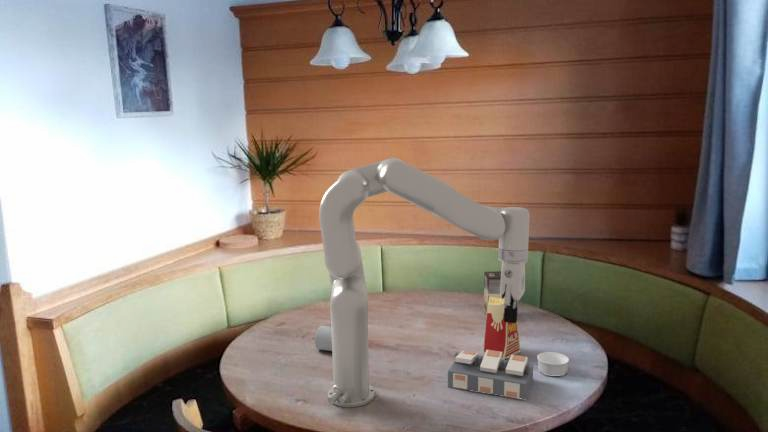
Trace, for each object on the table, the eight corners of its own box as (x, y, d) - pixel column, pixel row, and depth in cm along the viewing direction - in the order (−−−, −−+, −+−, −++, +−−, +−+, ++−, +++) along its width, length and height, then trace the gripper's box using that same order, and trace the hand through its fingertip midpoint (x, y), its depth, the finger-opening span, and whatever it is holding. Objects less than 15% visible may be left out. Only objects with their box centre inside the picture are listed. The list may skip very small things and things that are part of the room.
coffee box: (483, 312, 218) (483, 271, 215) (499, 311, 218) (500, 270, 215) (487, 320, 209) (487, 278, 206) (504, 320, 209) (505, 277, 206)
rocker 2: (522, 375, 152) (522, 371, 152) (505, 373, 154) (505, 368, 154) (527, 361, 159) (527, 356, 159) (511, 358, 161) (511, 354, 161)
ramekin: (533, 365, 172) (534, 351, 171) (563, 365, 172) (564, 351, 171) (540, 378, 163) (541, 364, 162) (572, 378, 163) (573, 364, 162)
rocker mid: (496, 373, 155) (496, 369, 155) (480, 370, 157) (479, 366, 157) (502, 355, 162) (502, 351, 162) (486, 353, 164) (486, 348, 163)
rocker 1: (470, 364, 158) (471, 359, 157) (454, 361, 159) (455, 356, 159) (477, 357, 165) (477, 352, 165) (462, 354, 167) (462, 350, 167)
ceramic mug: (338, 356, 180) (337, 332, 179) (314, 352, 183) (314, 329, 182) (351, 344, 190) (350, 321, 189) (328, 341, 193) (328, 319, 191)
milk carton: (520, 351, 181) (522, 290, 178) (504, 361, 175) (506, 298, 171) (495, 344, 188) (496, 285, 184) (479, 353, 181) (480, 292, 178)
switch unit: (524, 401, 150) (525, 375, 149) (447, 387, 158) (447, 363, 157) (532, 379, 162) (533, 355, 161) (460, 367, 170) (460, 345, 169)
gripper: (522, 262, 142) (519, 333, 145) (532, 249, 155) (529, 314, 158) (492, 259, 145) (489, 329, 148) (504, 247, 158) (502, 311, 161)
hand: (510, 321), depth 153 cm, fingers closed
